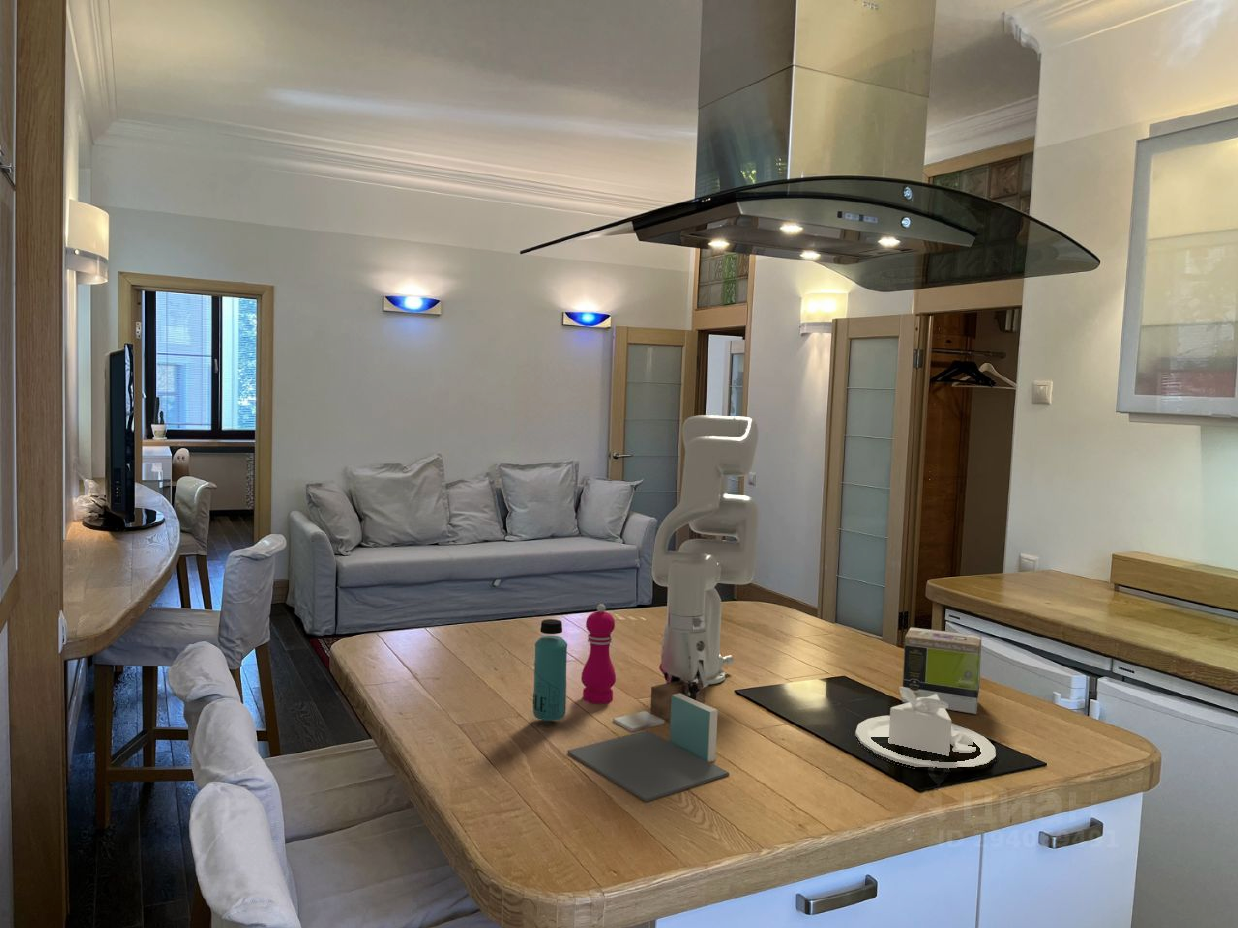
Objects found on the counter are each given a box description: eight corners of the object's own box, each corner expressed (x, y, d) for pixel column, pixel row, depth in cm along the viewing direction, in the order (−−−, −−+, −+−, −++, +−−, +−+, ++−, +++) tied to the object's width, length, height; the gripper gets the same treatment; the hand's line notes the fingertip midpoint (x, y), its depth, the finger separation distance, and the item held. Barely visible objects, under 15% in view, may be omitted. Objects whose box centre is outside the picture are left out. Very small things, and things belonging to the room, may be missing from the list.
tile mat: (647, 732, 164) (647, 729, 163) (729, 775, 146) (729, 772, 146) (567, 753, 153) (567, 750, 153) (645, 801, 135) (646, 798, 135)
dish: (983, 787, 146) (987, 721, 145) (837, 751, 159) (841, 690, 158) (1005, 741, 167) (1009, 683, 166) (875, 712, 180) (878, 659, 179)
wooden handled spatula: (689, 702, 181) (691, 674, 180) (709, 711, 176) (711, 682, 176) (613, 721, 169) (614, 691, 168) (632, 731, 164) (633, 700, 163)
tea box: (978, 701, 188) (983, 634, 187) (976, 716, 179) (981, 645, 178) (906, 689, 195) (910, 624, 194) (900, 703, 185) (904, 635, 184)
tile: (677, 740, 160) (679, 693, 160) (715, 759, 152) (717, 709, 152) (669, 743, 159) (671, 695, 158) (706, 762, 151) (709, 712, 150)
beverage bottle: (570, 719, 169) (574, 618, 167) (557, 731, 163) (560, 626, 161) (540, 714, 171) (543, 614, 169) (525, 725, 165) (528, 622, 163)
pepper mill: (611, 706, 177) (614, 609, 175) (576, 702, 178) (580, 606, 177) (618, 694, 184) (621, 601, 183) (585, 691, 185) (588, 599, 184)
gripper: (727, 628, 170) (723, 719, 171) (672, 610, 183) (669, 695, 184) (699, 633, 165) (695, 727, 166) (644, 614, 178) (641, 701, 180)
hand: (681, 709), depth 175 cm, fingers open, 3 cm apart
